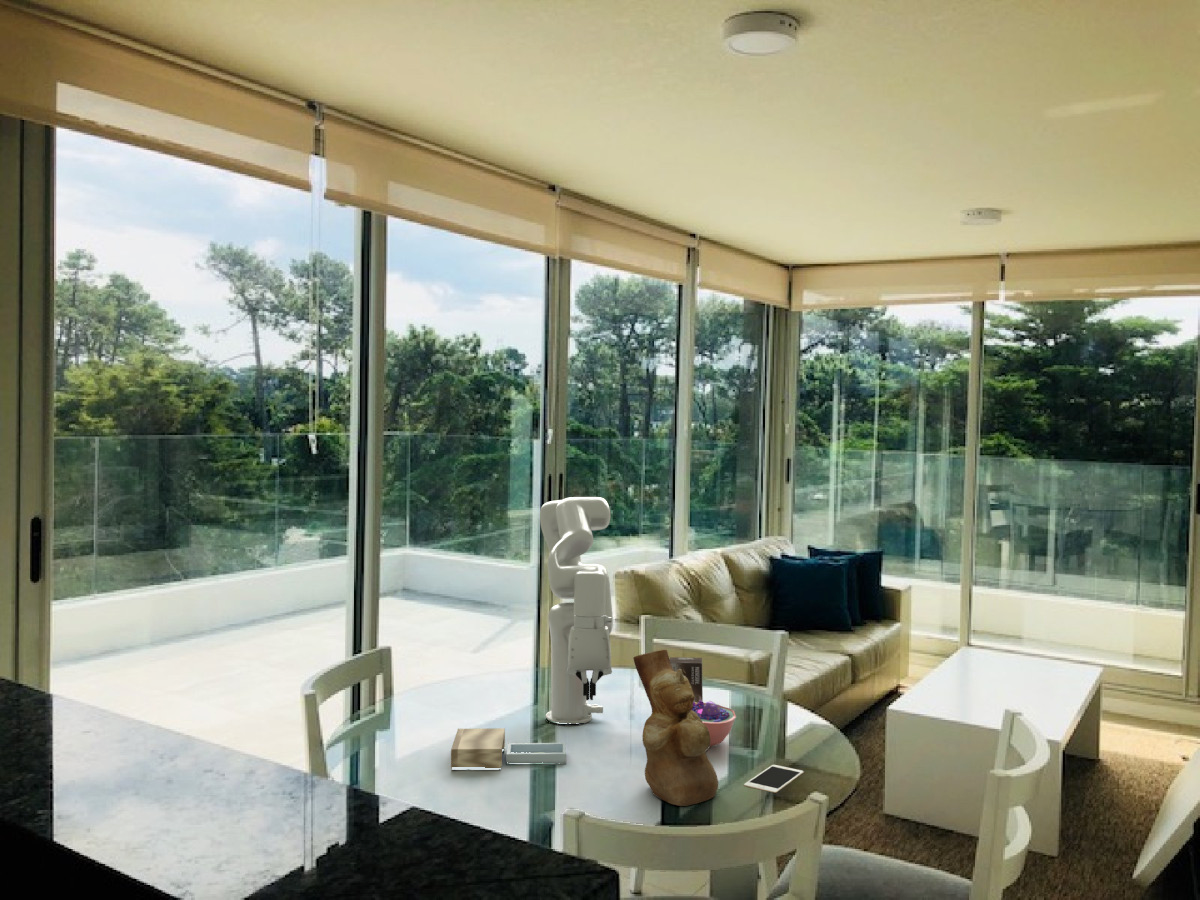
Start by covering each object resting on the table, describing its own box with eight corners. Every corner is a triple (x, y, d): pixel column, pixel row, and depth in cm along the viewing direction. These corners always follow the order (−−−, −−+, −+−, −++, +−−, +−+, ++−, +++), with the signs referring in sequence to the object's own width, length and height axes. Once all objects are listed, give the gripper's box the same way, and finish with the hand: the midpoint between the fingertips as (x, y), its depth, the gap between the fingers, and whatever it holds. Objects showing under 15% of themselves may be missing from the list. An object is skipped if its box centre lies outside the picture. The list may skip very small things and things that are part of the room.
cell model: (683, 728, 259) (683, 686, 259) (749, 744, 246) (749, 699, 246) (645, 744, 246) (645, 699, 246) (712, 761, 233) (712, 714, 233)
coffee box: (702, 715, 271) (702, 657, 271) (702, 722, 264) (703, 662, 264) (669, 714, 272) (669, 656, 271) (668, 721, 265) (669, 661, 265)
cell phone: (743, 787, 218) (743, 784, 218) (772, 766, 231) (772, 764, 231) (775, 794, 213) (775, 791, 213) (804, 773, 227) (804, 770, 227)
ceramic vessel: (676, 813, 201) (677, 668, 201) (613, 782, 219) (613, 648, 218) (732, 797, 211) (734, 658, 210) (667, 768, 228) (668, 640, 228)
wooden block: (504, 748, 242) (504, 728, 242) (501, 770, 226) (501, 748, 226) (457, 748, 241) (458, 728, 241) (451, 770, 226) (451, 749, 226)
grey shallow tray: (565, 753, 239) (565, 742, 239) (566, 764, 231) (566, 753, 231) (508, 753, 238) (508, 743, 238) (506, 764, 230) (506, 754, 230)
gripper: (619, 619, 238) (619, 694, 239) (558, 619, 238) (558, 694, 238) (621, 624, 231) (621, 702, 231) (558, 625, 230) (558, 703, 230)
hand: (589, 698), depth 234 cm, fingers closed
